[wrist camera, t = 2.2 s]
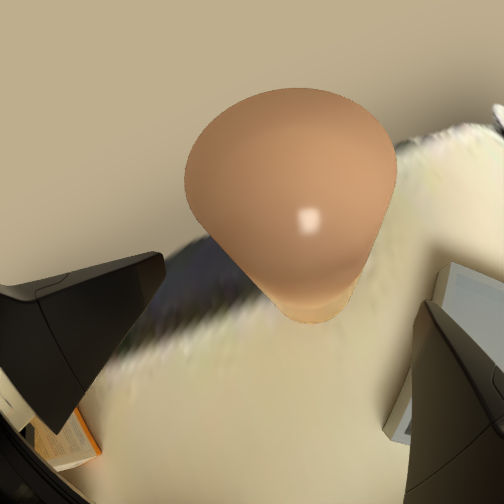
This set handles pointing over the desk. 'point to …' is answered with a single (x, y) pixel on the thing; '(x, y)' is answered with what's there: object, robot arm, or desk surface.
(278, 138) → the tan cylinder
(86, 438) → the supplement box
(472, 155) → the desk surface
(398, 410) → the bin
